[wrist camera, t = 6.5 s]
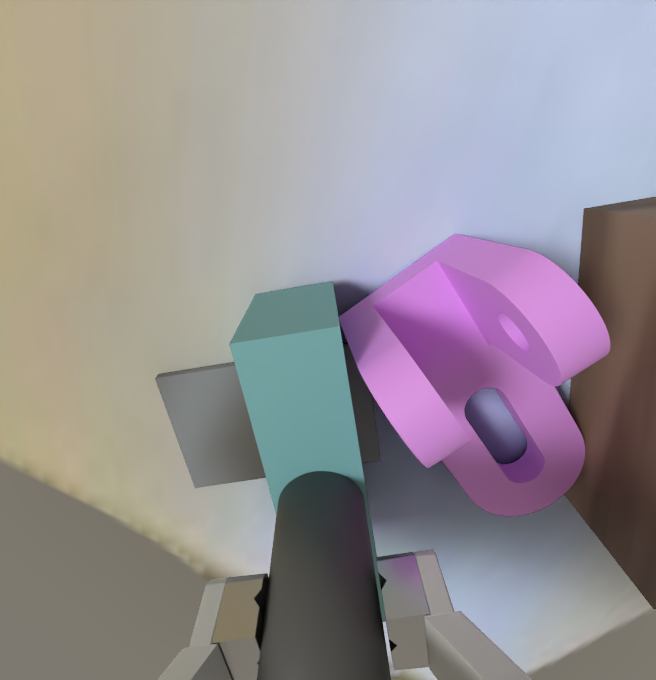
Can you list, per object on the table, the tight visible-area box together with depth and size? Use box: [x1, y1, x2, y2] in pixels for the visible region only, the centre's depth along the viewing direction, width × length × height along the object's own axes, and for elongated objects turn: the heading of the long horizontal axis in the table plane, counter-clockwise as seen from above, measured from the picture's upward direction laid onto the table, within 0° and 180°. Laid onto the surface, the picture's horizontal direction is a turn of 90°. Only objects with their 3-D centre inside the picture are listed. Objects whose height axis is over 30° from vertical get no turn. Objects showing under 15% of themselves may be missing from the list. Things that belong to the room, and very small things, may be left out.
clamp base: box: [155, 197, 656, 609], centre depth 15 cm, size 21×14×6 cm, turn 99°
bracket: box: [339, 234, 610, 516], centre depth 15 cm, size 13×6×7 cm, turn 36°
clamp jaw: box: [229, 281, 391, 680], centre depth 12 cm, size 3×12×12 cm, turn 9°
